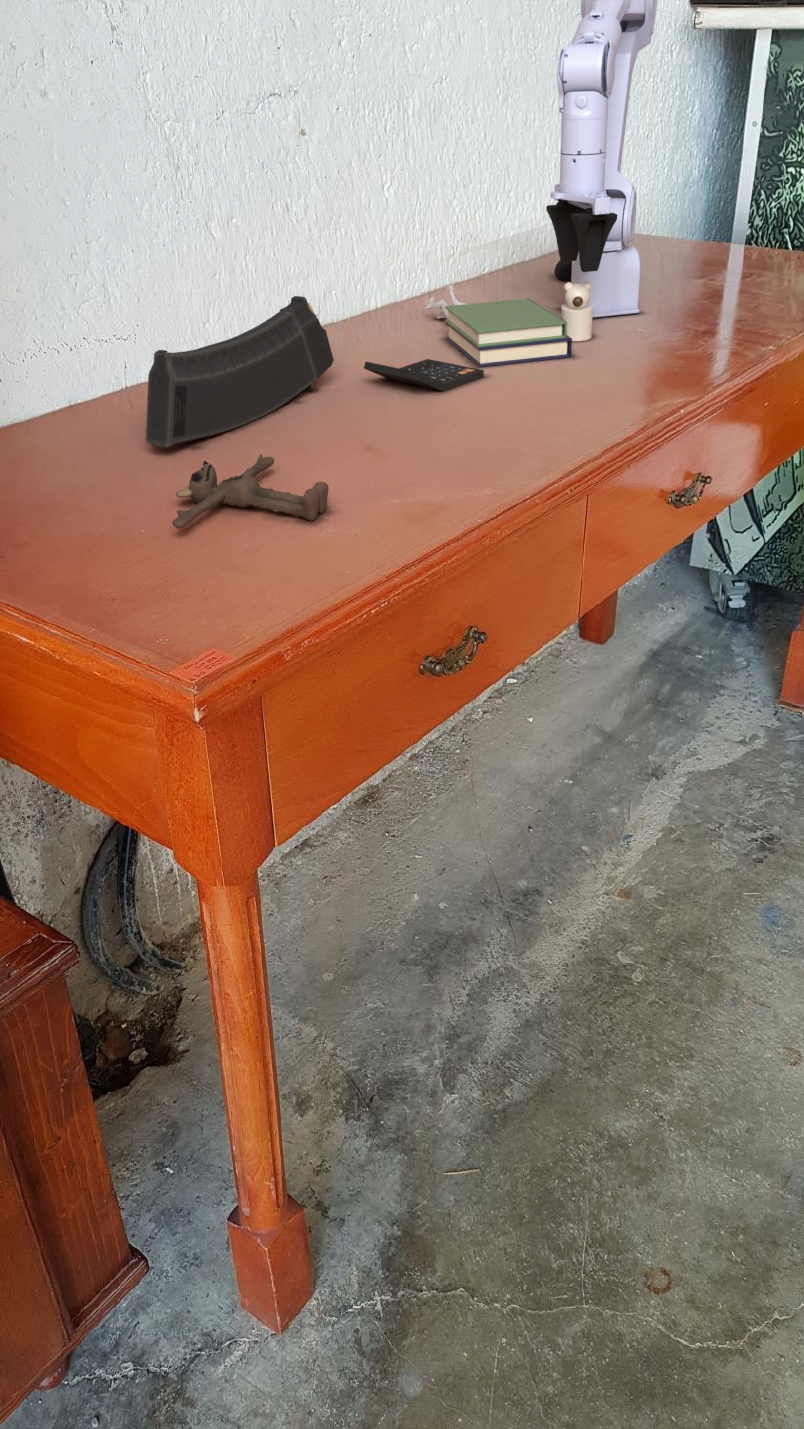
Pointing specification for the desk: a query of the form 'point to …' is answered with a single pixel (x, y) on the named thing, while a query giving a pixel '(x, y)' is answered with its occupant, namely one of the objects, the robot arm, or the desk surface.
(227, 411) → the magazine
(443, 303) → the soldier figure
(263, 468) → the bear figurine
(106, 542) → the desk surface
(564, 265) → the computer mouse
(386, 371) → the calculator
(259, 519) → the desk surface
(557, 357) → the book stack
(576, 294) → the toy bear
